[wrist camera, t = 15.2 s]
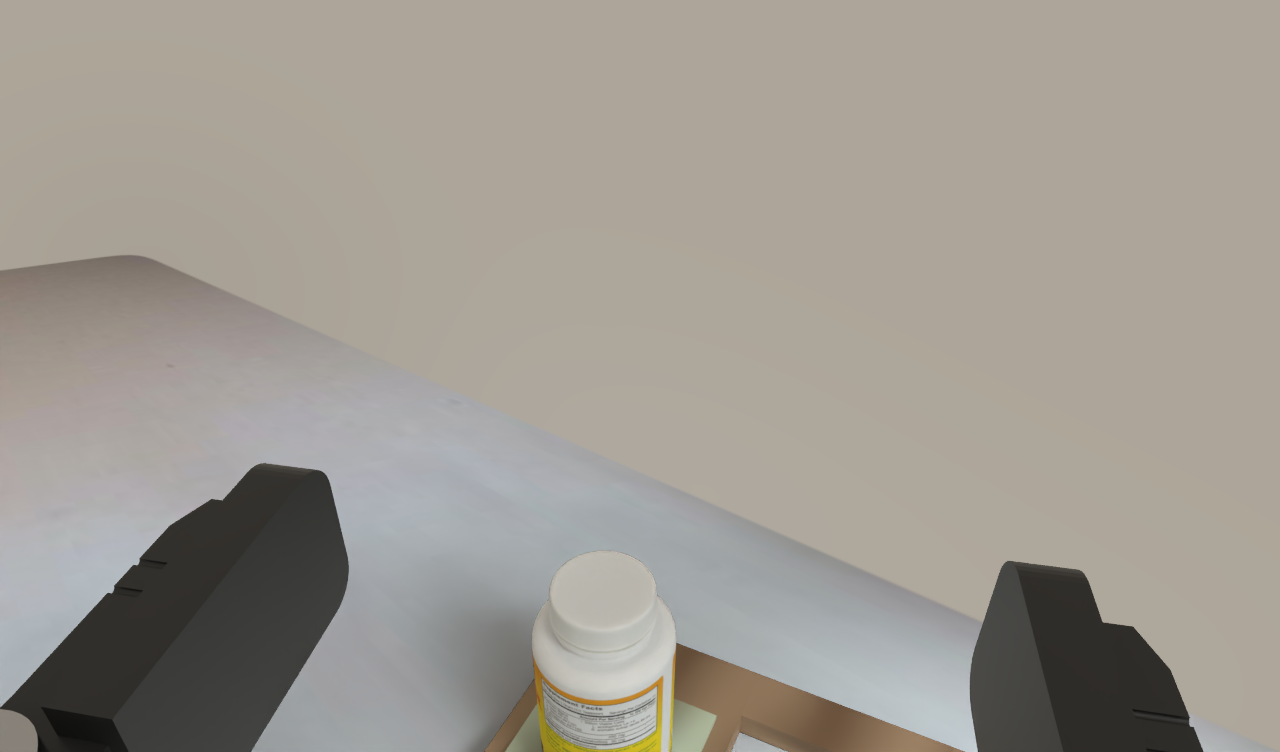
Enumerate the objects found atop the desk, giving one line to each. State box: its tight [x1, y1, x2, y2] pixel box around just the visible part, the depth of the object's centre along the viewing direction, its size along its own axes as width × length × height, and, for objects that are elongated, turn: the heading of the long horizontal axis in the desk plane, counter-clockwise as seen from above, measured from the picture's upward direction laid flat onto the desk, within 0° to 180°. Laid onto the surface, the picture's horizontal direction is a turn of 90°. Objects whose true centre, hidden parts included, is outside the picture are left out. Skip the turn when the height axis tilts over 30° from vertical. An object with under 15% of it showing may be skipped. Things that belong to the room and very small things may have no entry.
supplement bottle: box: [532, 551, 676, 752], centre depth 35 cm, size 6×6×10 cm
